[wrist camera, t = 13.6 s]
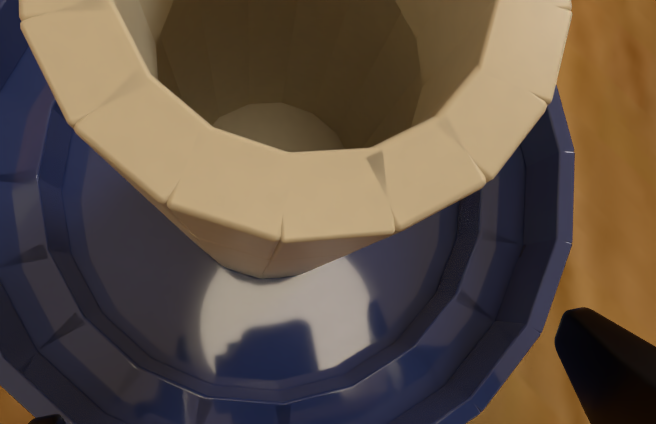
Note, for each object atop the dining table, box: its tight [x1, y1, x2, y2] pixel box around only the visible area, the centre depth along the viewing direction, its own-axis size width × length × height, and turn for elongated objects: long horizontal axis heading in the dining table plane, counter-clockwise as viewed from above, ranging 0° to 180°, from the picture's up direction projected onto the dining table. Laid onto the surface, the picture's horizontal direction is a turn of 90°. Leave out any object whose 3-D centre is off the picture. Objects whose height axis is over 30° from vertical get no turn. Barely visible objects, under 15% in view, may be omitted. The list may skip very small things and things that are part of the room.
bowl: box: [0, 0, 575, 424], centre depth 16 cm, size 17×17×4 cm
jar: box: [19, 0, 572, 279], centre depth 12 cm, size 6×6×12 cm
